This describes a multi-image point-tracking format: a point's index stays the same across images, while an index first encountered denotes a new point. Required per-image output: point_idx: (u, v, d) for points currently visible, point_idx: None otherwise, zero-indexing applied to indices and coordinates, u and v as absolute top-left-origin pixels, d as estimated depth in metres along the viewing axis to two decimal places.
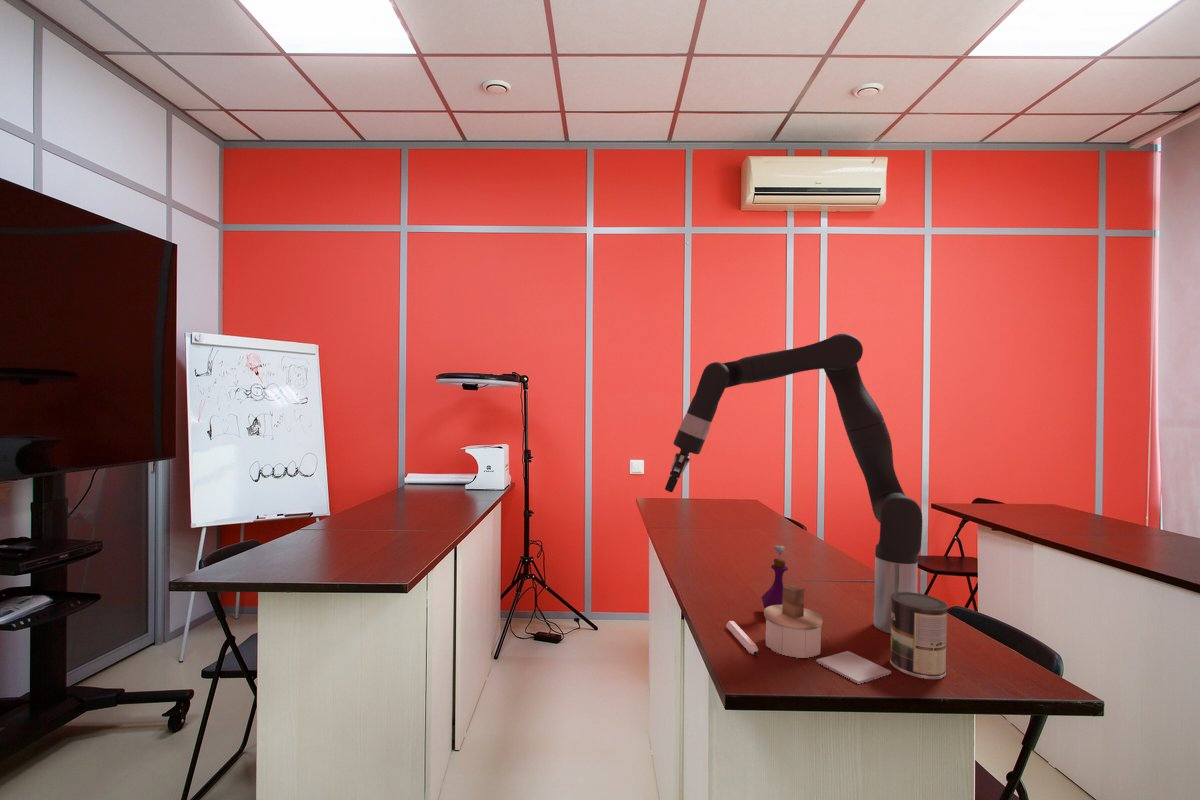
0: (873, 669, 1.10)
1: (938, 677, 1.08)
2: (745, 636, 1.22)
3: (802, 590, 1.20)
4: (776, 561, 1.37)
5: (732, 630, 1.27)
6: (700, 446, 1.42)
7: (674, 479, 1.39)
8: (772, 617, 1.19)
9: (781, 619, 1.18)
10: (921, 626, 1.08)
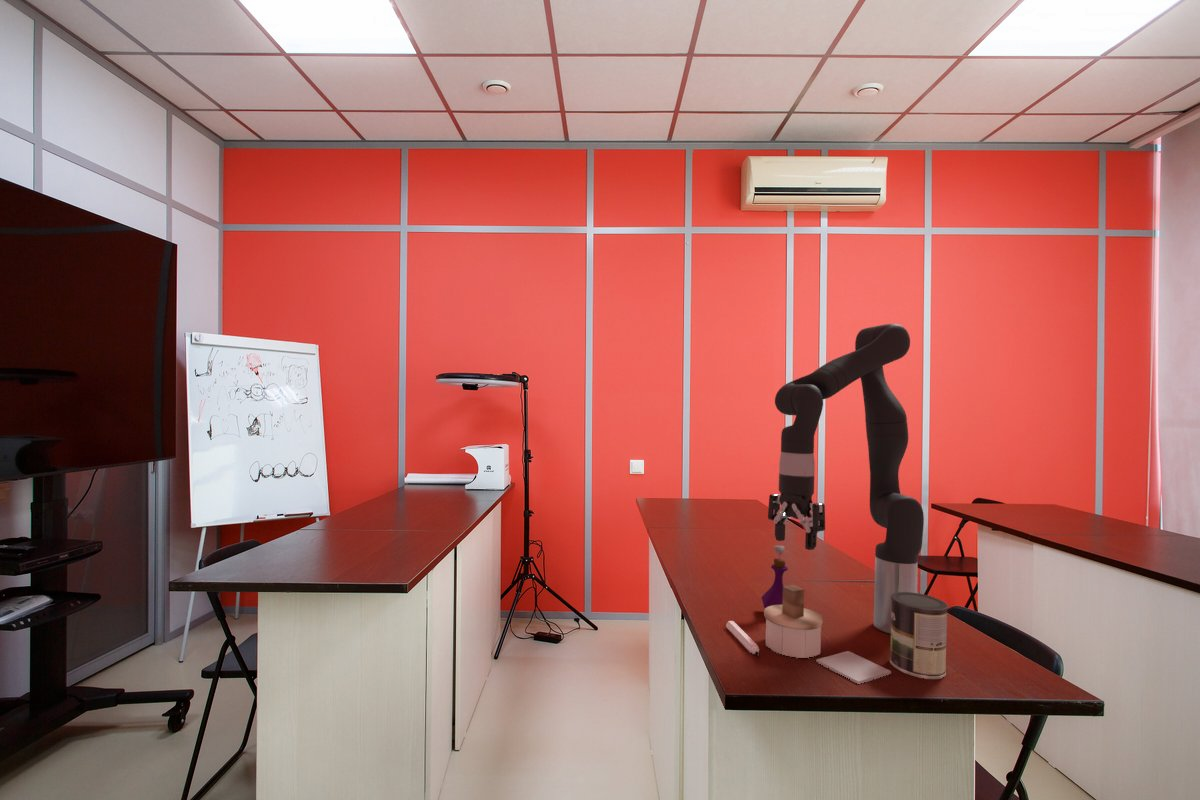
0: (873, 669, 1.10)
1: (938, 677, 1.08)
2: (746, 636, 1.22)
3: (802, 590, 1.20)
4: (776, 561, 1.37)
5: (732, 630, 1.26)
6: None
7: (815, 533, 1.17)
8: (772, 617, 1.19)
9: (781, 619, 1.18)
10: (921, 625, 1.08)
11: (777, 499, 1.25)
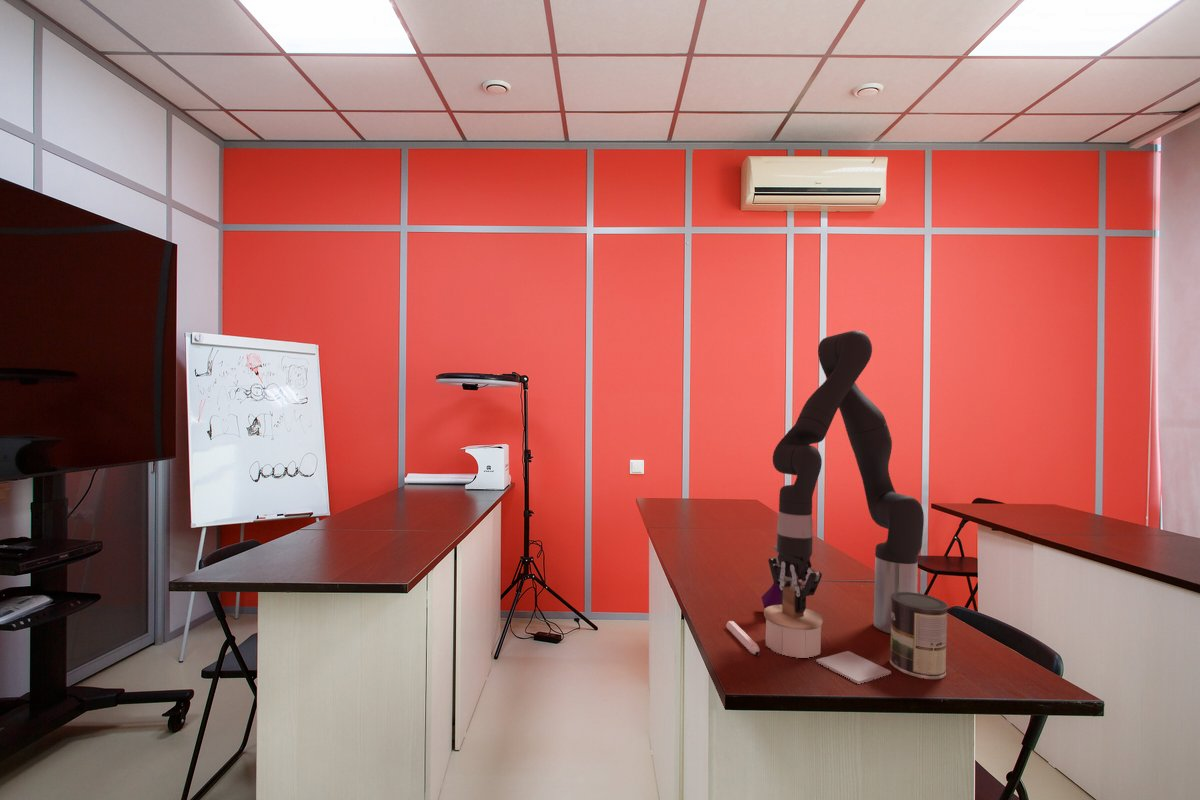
0: (873, 669, 1.10)
1: (938, 677, 1.08)
2: (746, 636, 1.21)
3: None
4: None
5: (732, 630, 1.26)
6: None
7: (805, 597, 1.18)
8: (772, 617, 1.19)
9: (781, 619, 1.18)
10: (921, 626, 1.08)
11: (776, 561, 1.25)
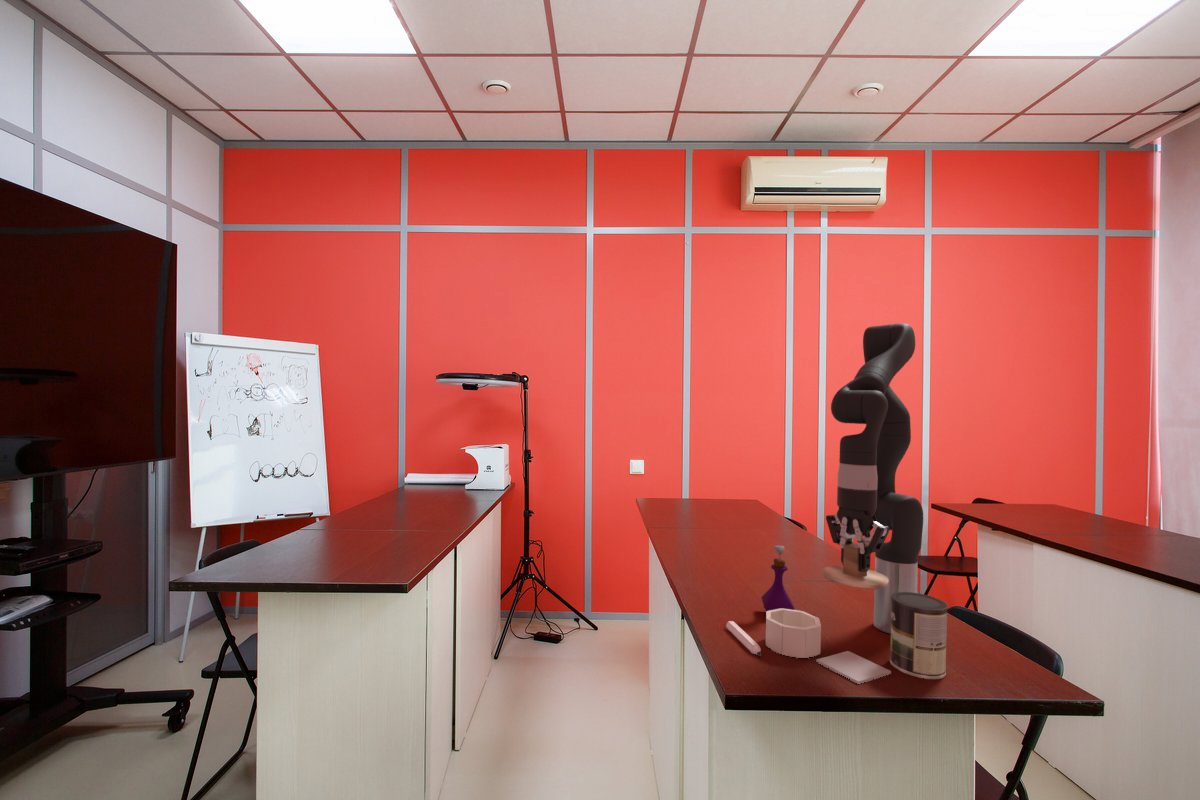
0: (873, 669, 1.10)
1: (938, 677, 1.08)
2: (747, 636, 1.21)
3: None
4: (776, 561, 1.37)
5: (733, 630, 1.26)
6: None
7: (869, 554, 1.09)
8: (833, 576, 1.10)
9: (844, 578, 1.09)
10: (921, 626, 1.08)
11: (835, 518, 1.16)
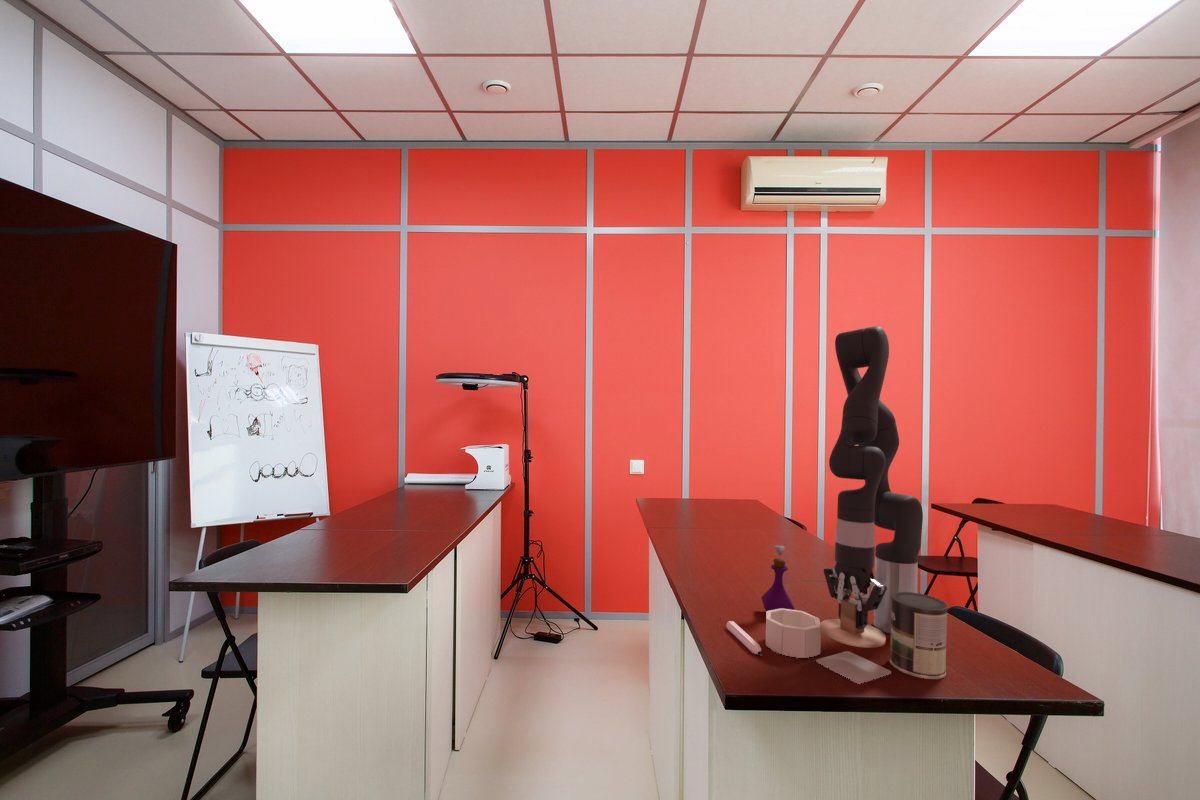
0: (873, 669, 1.10)
1: (938, 677, 1.08)
2: (747, 636, 1.21)
3: None
4: (776, 561, 1.37)
5: (733, 630, 1.26)
6: None
7: (866, 612, 1.09)
8: (830, 633, 1.10)
9: (841, 635, 1.09)
10: (921, 625, 1.08)
11: (833, 572, 1.16)
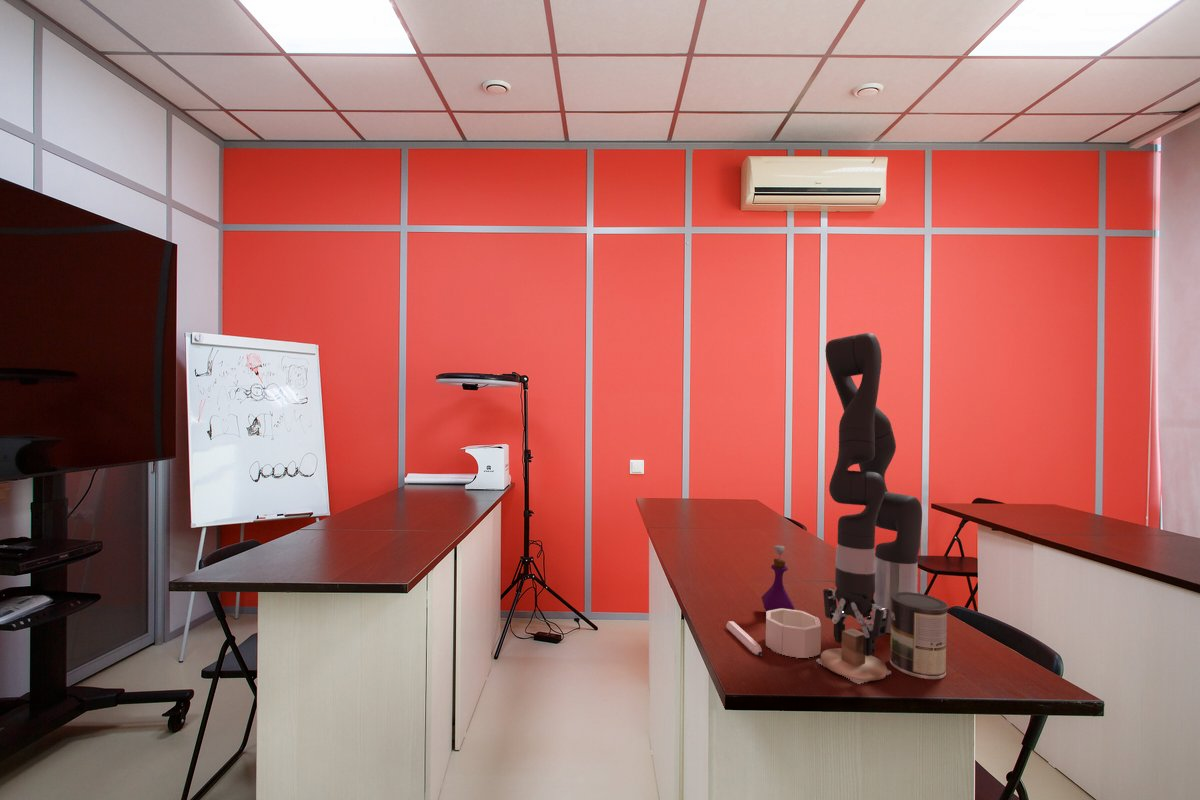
0: None
1: (938, 677, 1.08)
2: (747, 636, 1.21)
3: None
4: (776, 561, 1.37)
5: (733, 630, 1.26)
6: None
7: (874, 638, 1.08)
8: (832, 665, 1.10)
9: (842, 667, 1.09)
10: (921, 625, 1.08)
11: (832, 594, 1.16)
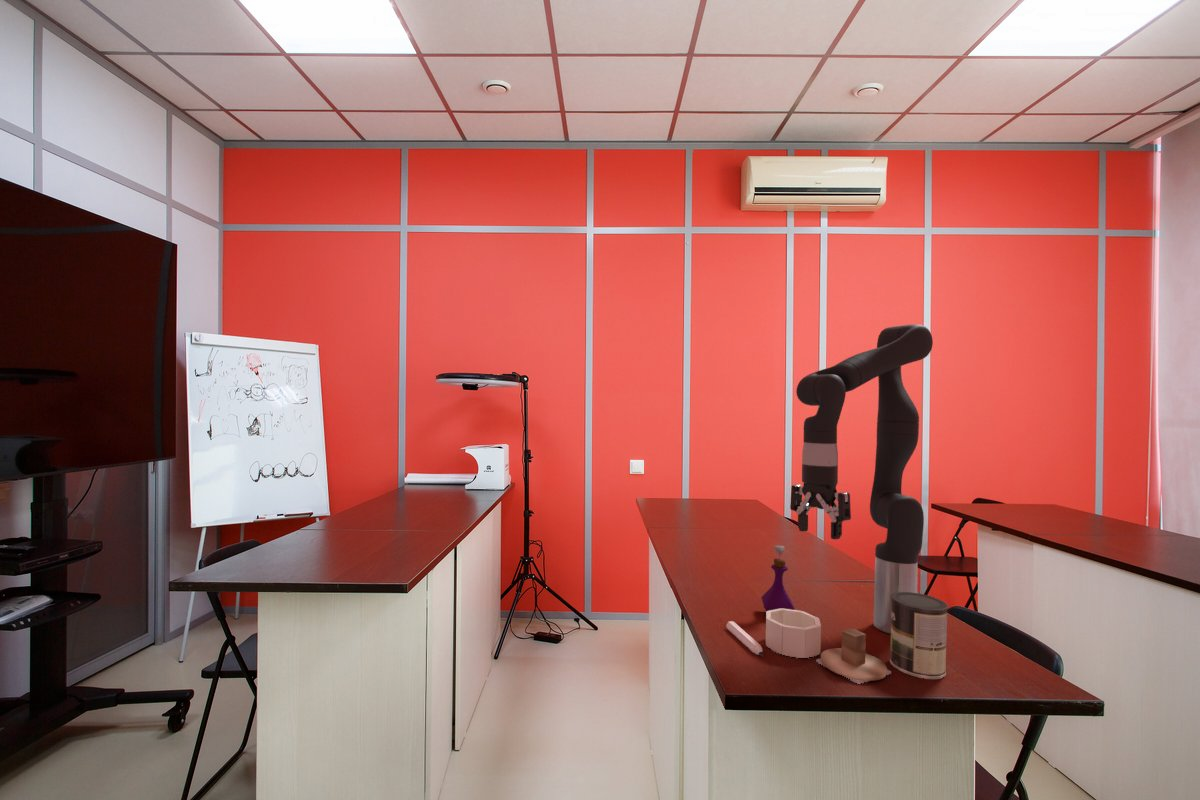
0: None
1: (938, 677, 1.08)
2: (748, 636, 1.21)
3: (864, 635, 1.11)
4: (776, 561, 1.37)
5: (733, 631, 1.26)
6: None
7: (841, 523, 1.17)
8: (832, 665, 1.10)
9: (842, 667, 1.09)
10: (921, 626, 1.08)
11: (799, 490, 1.26)
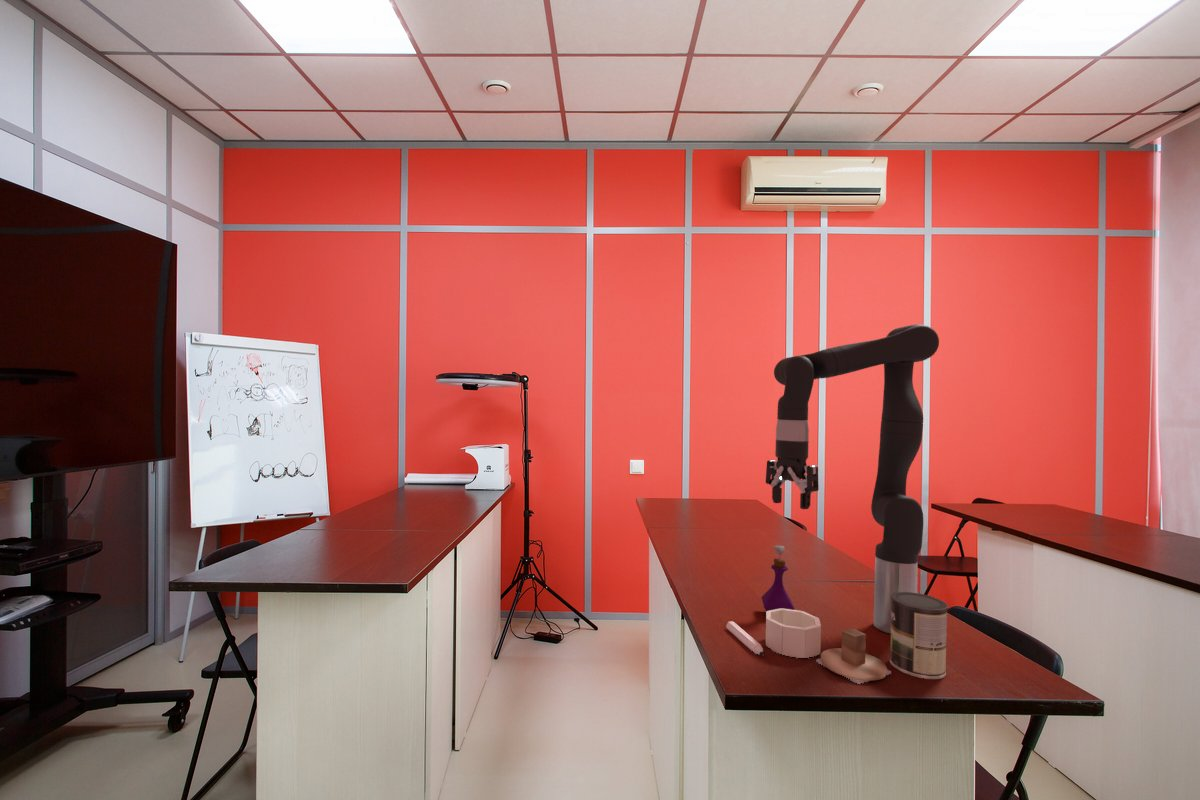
0: None
1: (938, 677, 1.08)
2: (748, 636, 1.21)
3: (864, 635, 1.11)
4: (776, 561, 1.37)
5: (733, 631, 1.26)
6: None
7: (809, 494, 1.26)
8: (832, 665, 1.10)
9: (842, 667, 1.09)
10: (921, 625, 1.08)
11: (774, 464, 1.35)
